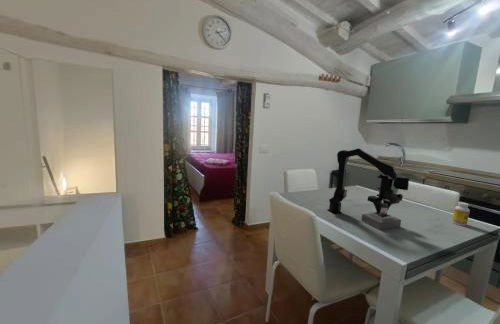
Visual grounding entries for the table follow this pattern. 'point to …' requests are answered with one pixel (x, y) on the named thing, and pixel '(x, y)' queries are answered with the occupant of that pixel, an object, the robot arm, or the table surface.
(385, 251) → the table surface
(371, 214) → the grey flat block
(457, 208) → the supplement bottle
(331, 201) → the robot arm
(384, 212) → the lens
